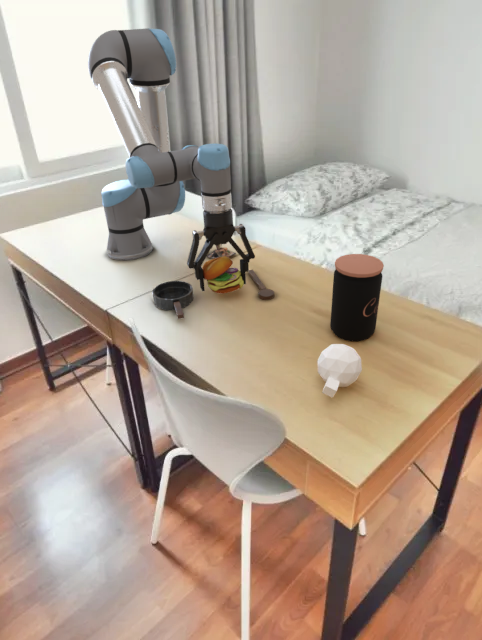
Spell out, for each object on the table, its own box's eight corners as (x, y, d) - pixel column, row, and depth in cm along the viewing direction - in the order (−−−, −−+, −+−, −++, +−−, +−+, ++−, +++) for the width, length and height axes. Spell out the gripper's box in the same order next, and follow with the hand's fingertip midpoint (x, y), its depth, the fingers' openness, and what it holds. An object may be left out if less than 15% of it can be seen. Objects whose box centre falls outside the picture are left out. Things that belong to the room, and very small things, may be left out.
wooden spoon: (243, 274, 141) (243, 271, 140) (257, 272, 142) (257, 268, 141) (261, 301, 126) (261, 297, 126) (276, 298, 127) (276, 294, 127)
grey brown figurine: (216, 247, 160) (211, 189, 149) (239, 255, 153) (236, 195, 142) (198, 254, 155) (192, 195, 144) (221, 263, 148) (216, 202, 137)
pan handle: (174, 311, 124) (173, 301, 122) (180, 310, 124) (179, 300, 122) (178, 325, 118) (177, 315, 116) (185, 324, 118) (183, 314, 116)
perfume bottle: (318, 355, 101) (302, 394, 93) (332, 327, 95) (316, 366, 86) (355, 372, 100) (342, 413, 91) (372, 345, 93) (359, 387, 85)
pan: (152, 295, 132) (150, 284, 130) (189, 289, 134) (188, 278, 132) (156, 314, 123) (154, 302, 121) (197, 307, 125) (196, 295, 123)
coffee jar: (365, 348, 106) (374, 278, 96) (322, 335, 111) (327, 267, 101) (380, 326, 113) (390, 258, 104) (339, 315, 118) (345, 250, 109)
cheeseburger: (241, 296, 124) (230, 263, 119) (204, 302, 127) (192, 270, 123) (248, 279, 132) (238, 247, 128) (213, 285, 136) (202, 254, 131)
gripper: (174, 220, 112) (183, 298, 124) (265, 207, 117) (267, 284, 129) (169, 210, 118) (179, 286, 130) (257, 199, 123) (259, 273, 135)
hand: (223, 285), depth 129 cm, fingers closed on cheeseburger, 11 cm apart
